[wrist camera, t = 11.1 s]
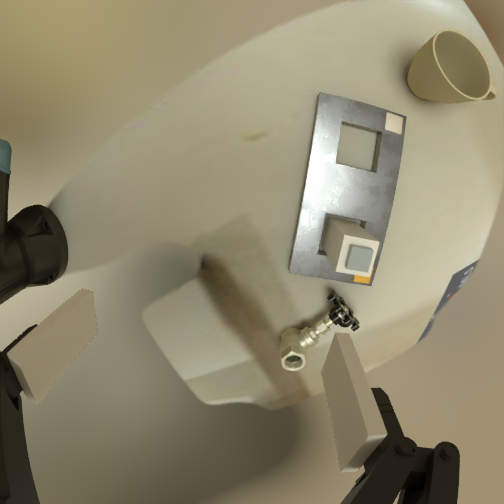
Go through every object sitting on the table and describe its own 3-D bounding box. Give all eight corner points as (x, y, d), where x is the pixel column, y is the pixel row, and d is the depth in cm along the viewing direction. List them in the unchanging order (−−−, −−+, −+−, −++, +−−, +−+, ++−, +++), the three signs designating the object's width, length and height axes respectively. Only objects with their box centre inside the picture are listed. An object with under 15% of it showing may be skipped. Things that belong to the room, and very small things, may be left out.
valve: (295, 355, 44) (354, 311, 41) (297, 381, 38) (365, 335, 35) (268, 330, 43) (328, 283, 40) (266, 356, 37) (337, 304, 34)
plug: (321, 245, 38) (337, 275, 28) (327, 217, 37) (346, 237, 27) (349, 250, 38) (372, 280, 28) (355, 222, 37) (382, 244, 26)
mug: (417, 126, 32) (464, 117, 20) (382, 65, 30) (418, 35, 18) (463, 104, 29) (511, 94, 18) (433, 49, 27) (473, 23, 16)
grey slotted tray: (288, 267, 40) (288, 273, 38) (317, 95, 32) (320, 91, 30) (367, 280, 39) (371, 287, 37) (400, 118, 32) (407, 116, 30)
